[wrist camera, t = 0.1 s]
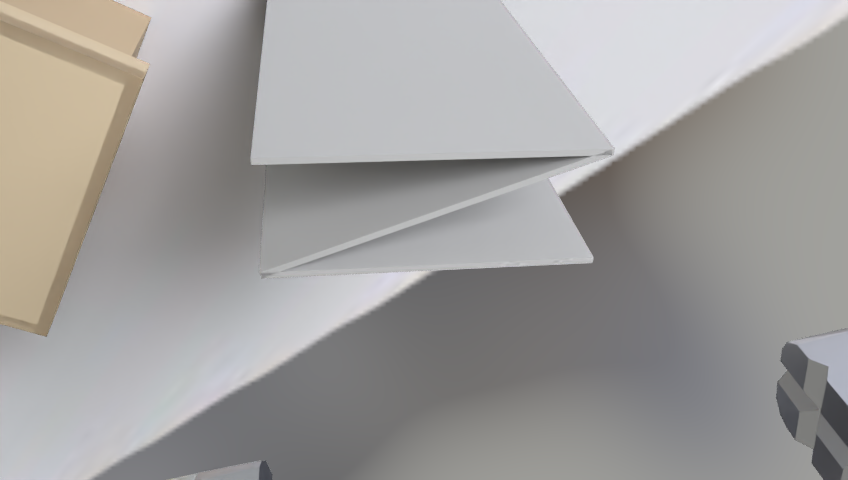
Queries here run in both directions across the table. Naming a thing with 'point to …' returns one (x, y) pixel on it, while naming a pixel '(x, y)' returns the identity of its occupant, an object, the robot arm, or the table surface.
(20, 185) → the lid
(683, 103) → the table surface
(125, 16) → the carton
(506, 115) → the brochure
